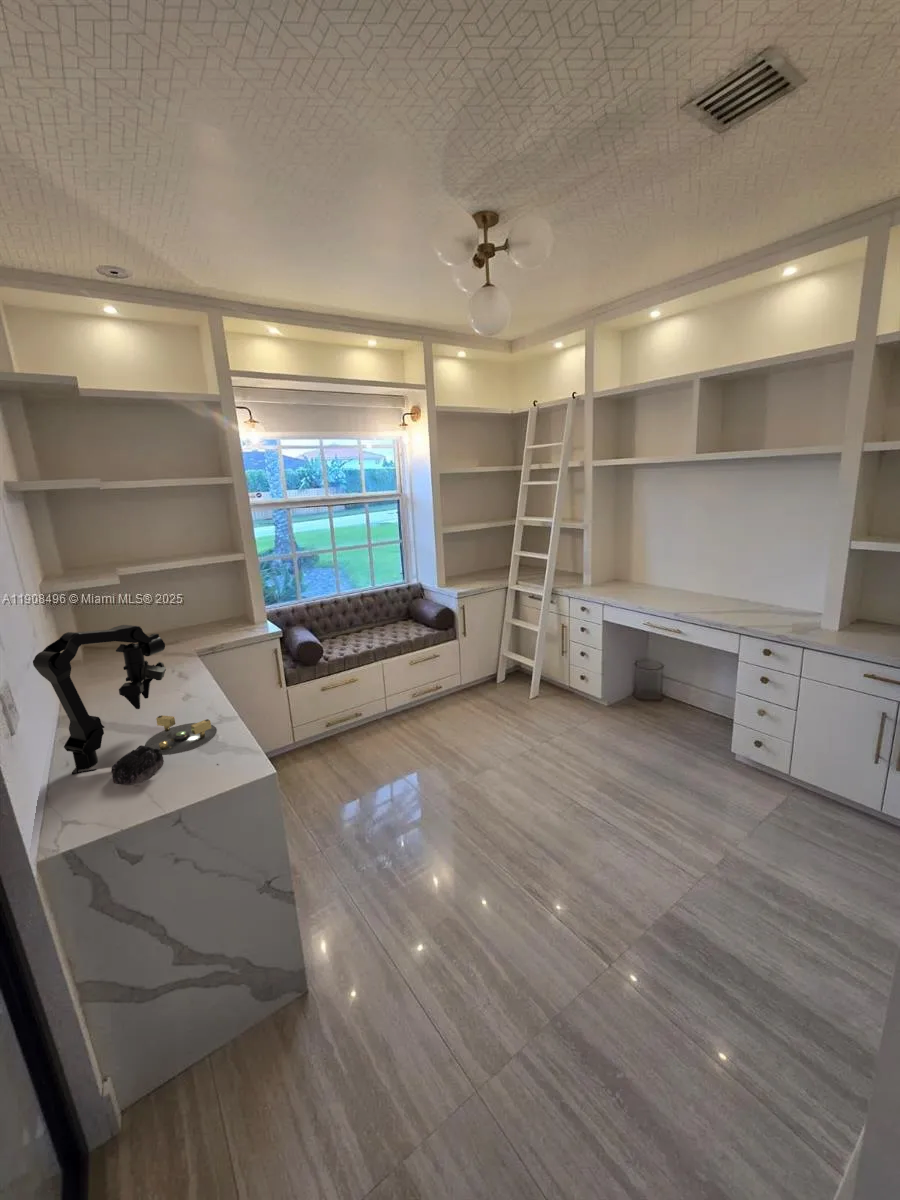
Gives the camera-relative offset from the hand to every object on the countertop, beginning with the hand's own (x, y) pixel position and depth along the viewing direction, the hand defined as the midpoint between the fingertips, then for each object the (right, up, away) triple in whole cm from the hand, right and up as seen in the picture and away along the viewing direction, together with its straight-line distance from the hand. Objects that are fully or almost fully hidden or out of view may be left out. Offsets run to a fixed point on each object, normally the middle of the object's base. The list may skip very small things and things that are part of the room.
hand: (142, 703), depth 174 cm
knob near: (+22, -11, -3) cm, 25 cm away
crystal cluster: (+12, -17, -22) cm, 30 cm away
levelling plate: (+15, -12, -2) cm, 20 cm away
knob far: (+7, -10, +2) cm, 13 cm away
